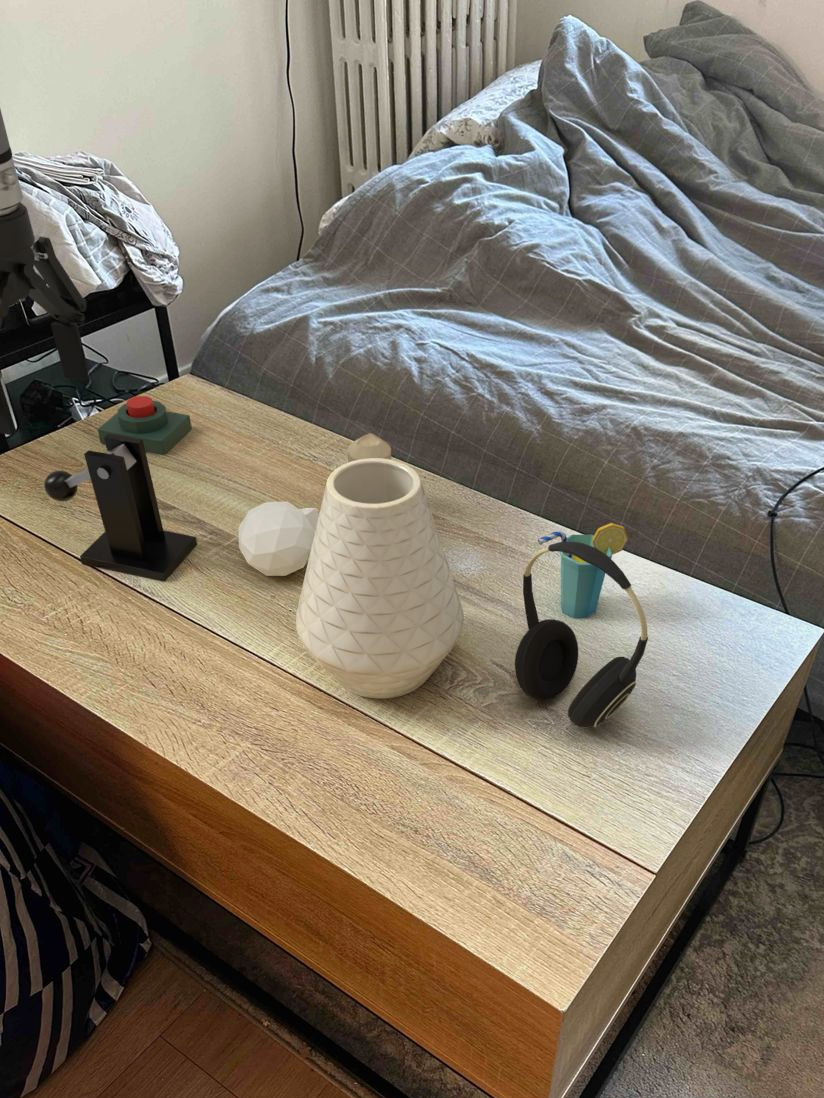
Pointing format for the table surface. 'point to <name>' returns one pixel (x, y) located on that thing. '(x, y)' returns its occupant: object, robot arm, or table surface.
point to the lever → (78, 477)
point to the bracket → (131, 516)
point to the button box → (149, 428)
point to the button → (140, 406)
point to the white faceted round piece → (277, 537)
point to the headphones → (574, 650)
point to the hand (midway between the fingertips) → (42, 404)
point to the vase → (378, 583)
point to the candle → (368, 448)
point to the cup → (585, 569)
